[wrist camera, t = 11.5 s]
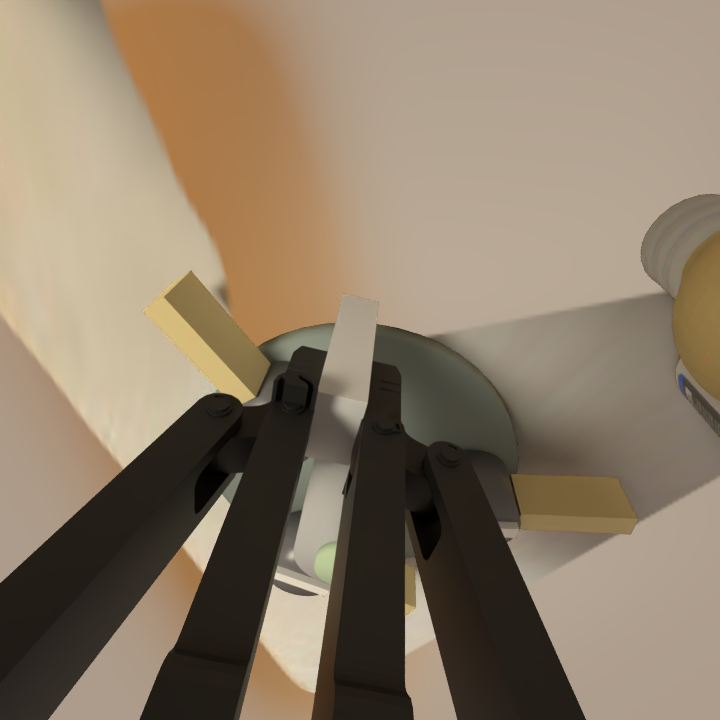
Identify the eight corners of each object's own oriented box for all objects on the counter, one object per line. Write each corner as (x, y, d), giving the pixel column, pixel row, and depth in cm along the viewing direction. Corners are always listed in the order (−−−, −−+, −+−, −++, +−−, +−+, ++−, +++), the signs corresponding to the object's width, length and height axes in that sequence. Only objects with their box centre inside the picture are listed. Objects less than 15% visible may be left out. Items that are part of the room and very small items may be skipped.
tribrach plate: (173, 321, 23) (87, 418, 16) (540, 322, 21) (596, 430, 15) (240, 538, 33) (202, 649, 26) (493, 551, 31) (515, 672, 25)
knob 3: (433, 498, 26) (437, 553, 23) (437, 449, 24) (441, 503, 21) (602, 504, 25) (628, 563, 22) (622, 454, 23) (654, 512, 20)
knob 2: (271, 535, 30) (256, 588, 27) (293, 502, 28) (280, 555, 25) (396, 581, 31) (395, 635, 28) (425, 553, 29) (428, 609, 26)
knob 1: (341, 405, 23) (332, 456, 20) (280, 432, 24) (263, 484, 21) (217, 252, 19) (181, 287, 16) (153, 295, 20) (109, 335, 17)
